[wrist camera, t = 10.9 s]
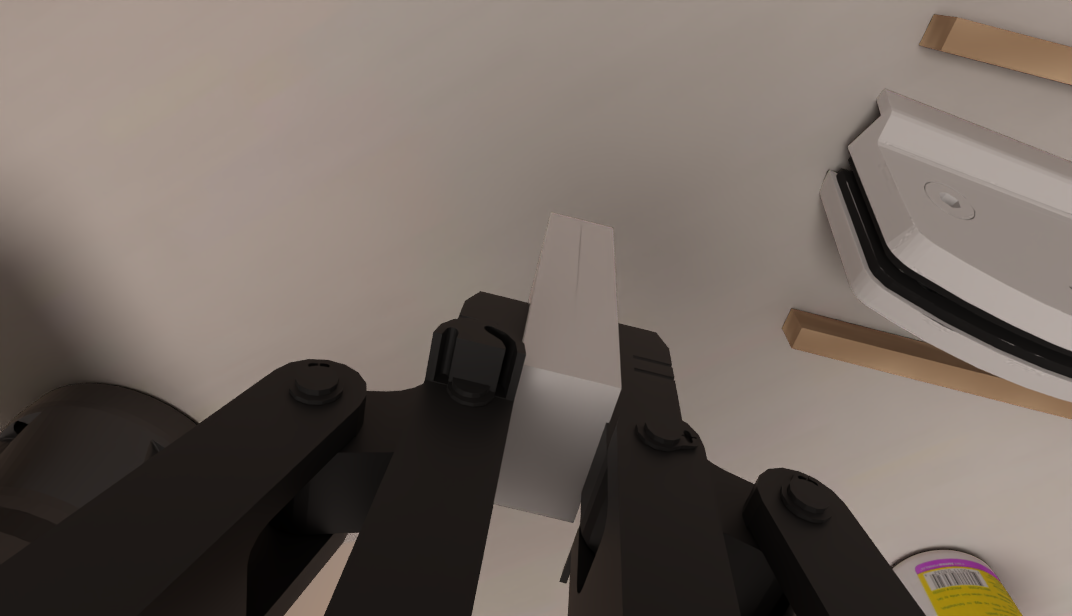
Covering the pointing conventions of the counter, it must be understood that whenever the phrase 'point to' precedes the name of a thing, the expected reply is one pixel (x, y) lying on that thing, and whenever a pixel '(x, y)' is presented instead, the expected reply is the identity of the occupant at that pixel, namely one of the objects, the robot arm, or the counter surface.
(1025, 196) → the grey piece
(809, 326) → the frame
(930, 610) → the supplement bottle
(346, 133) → the counter surface
